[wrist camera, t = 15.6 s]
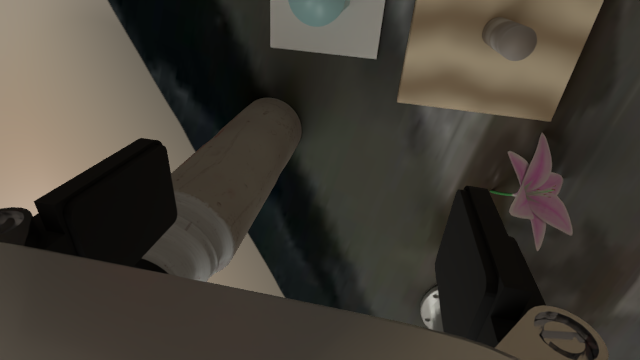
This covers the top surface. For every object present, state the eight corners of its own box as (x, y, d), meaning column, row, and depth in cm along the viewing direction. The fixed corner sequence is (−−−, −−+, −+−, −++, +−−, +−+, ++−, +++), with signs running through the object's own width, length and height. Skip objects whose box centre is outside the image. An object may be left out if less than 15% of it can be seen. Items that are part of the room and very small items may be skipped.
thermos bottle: (232, 129, 46) (60, 291, 23) (263, 83, 42) (94, 221, 19) (279, 166, 48) (166, 353, 24) (314, 125, 44) (218, 301, 20)
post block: (543, 115, 38) (580, 149, 31) (397, 96, 40) (397, 125, 33) (618, -62, 30) (694, -74, 22) (429, -74, 32) (440, -90, 24)
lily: (547, 218, 46) (620, 239, 36) (465, 242, 44) (518, 270, 35) (535, 128, 44) (608, 125, 34) (448, 150, 42) (499, 153, 33)
